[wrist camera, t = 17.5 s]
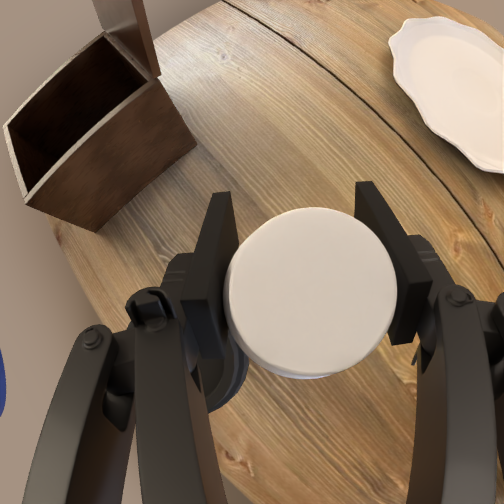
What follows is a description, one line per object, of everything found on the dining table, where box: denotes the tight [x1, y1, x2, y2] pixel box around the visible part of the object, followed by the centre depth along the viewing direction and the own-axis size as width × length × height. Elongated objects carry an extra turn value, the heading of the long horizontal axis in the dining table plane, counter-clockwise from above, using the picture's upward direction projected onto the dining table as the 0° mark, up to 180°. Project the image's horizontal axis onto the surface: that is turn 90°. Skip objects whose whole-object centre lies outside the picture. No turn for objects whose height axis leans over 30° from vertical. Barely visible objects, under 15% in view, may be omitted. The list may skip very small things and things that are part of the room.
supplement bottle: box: [223, 207, 397, 379], centre depth 12 cm, size 5×5×10 cm
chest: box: [3, 31, 197, 233], centre depth 31 cm, size 17×14×13 cm
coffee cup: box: [127, 321, 250, 414], centre depth 25 cm, size 8×8×15 cm
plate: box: [388, 16, 504, 174], centre depth 32 cm, size 29×29×2 cm
